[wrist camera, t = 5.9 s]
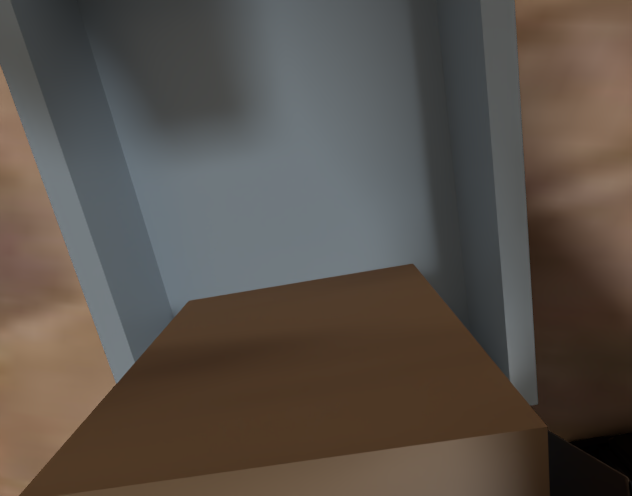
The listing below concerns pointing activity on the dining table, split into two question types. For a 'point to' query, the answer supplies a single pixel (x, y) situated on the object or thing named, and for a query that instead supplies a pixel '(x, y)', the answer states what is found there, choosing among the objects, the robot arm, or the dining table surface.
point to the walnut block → (309, 402)
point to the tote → (279, 153)
